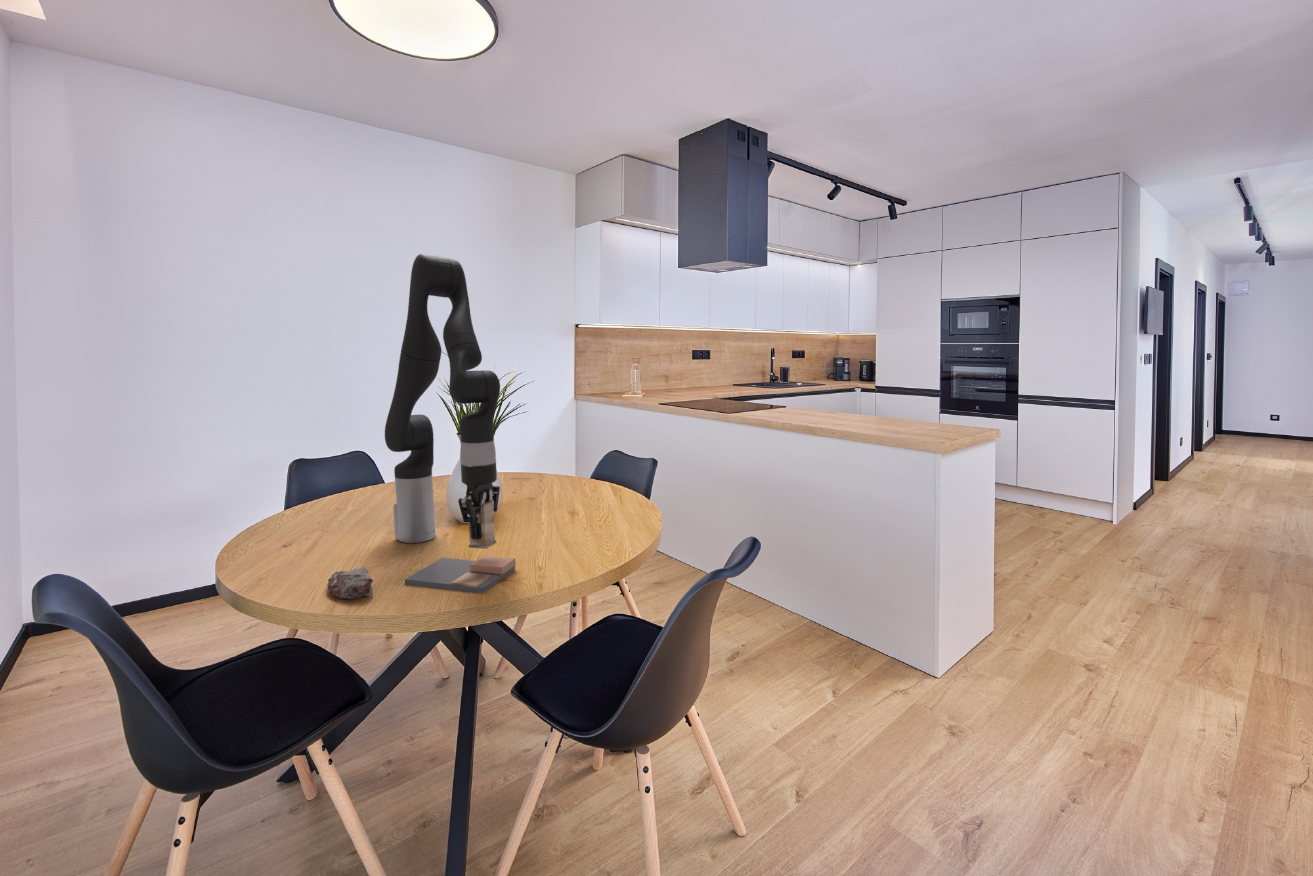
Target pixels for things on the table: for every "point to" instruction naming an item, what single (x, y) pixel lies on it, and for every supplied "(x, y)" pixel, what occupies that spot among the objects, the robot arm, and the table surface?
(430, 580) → the slate board
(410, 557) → the table surface
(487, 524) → the block
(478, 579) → the cork pad
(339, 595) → the mineral rock
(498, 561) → the tile
